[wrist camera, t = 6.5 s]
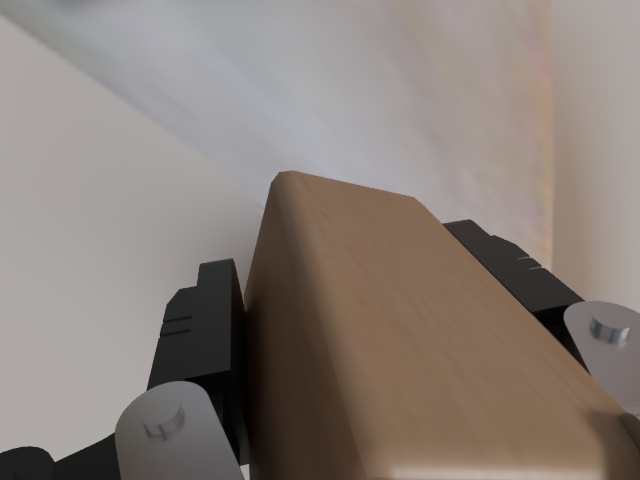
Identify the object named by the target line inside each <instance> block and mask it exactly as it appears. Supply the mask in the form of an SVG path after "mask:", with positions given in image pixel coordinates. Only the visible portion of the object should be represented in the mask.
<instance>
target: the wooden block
mask: <svg viewBox="0 0 640 480" xmlns="http://www.w3.org/2000/svg"><path fill="white" fill-rule="evenodd" d="M244 308H245V312H246V338H247V365H248V393H249V420H250V450H249V471H250V472H249V473H250V480H640V455H639V452H638V449H637V447H636V446H635V444H634V442H633V441H632V439H631V437H630V436H629V434H628V433H627V431H626V429H625V428H624V426H623V424H622V423H621V421H620V420H619V418H618V416H619V415H621V414H623V413H627V412H626V411H625V410H624V409H623V408H622V407H621V406H620V405H619V404H618V403H617V402H616V401H615V400H614V399H613V398H612V397H611V396H610V395H609V394H608V393H607V392H606V391H605V390H604V389H603V388H602V387H601V386H600V385H599V384H598V383H597V382H596V380H595V379H594V378H593V377H592V376H591V375H590V374H589V373H588V372H587V371H586V369H585V368H584V367H583V366H582V365H581V364H580V362H579V361H578V360H577V359H576V358H575V357H574V356H573V355H572V354H571V353H570V352H569V351H568V350H567V349H566V348H565V347H564V346H563V345H562V344H561V343H560V342H559V341H558V340H557V339H556V338H555V337H554V336H553V335H552V334H551V333H550V332H549V331H548V330H547V329H546V328H545V327H544V326H543V325H542V324H541V323H540V322H539V321H538V320H537V319H536V318H535V317H534V316H533V315H532V314H531V313H530V312H529V311H528V310H527V309H526V308H525V307H524V306H523V305H522V304H521V303H520V302H519V301H518V300H517V299H516V298H515V297H514V296H513V295H512V294H511V293H510V292H509V291H508V290H507V289H506V288H505V287H504V286H503V285H502V284H501V283H500V282H499V281H498V280H497V279H496V278H495V277H494V276H493V275H492V274H491V273H490V272H489V271H488V270H487V269H486V268H485V267H484V266H483V265H482V264H481V263H480V262H479V261H478V260H477V259H476V258H475V257H474V256H473V255H472V254H471V253H470V252H469V251H468V250H467V249H466V248H465V247H464V246H463V245H462V244H461V243H460V242H459V241H458V240H457V239H456V238H455V237H454V236H453V235H452V234H451V233H450V232H449V231H448V230H447V229H446V228H445V227H444V226H443V225H442V223H441V222H440V221H439V220H438V219H437V218H436V217H435V216H434V215H433V214H432V213H431V212H430V211H429V210H428V209H427V208H426V207H425V206H424V205H423V204H422V203H420V202H419V201H418V200H416V199H415V198H414V197H410V196H405V195H401V194H396V193H392V192H387V191H383V190H378V189H374V188H369V187H364V186H360V185H355V184H351V183H346V182H342V181H337V180H333V179H328V178H324V177H319V176H315V175H310V174H305V173H301V172H296V171H286V172H279V173H278V175H277V176H276V177H275V179H274V180H273V181H272V183H271V186H270V190H269V194H268V198H267V202H266V206H265V210H264V215H263V219H262V223H261V227H260V231H259V235H258V239H257V243H256V247H255V251H254V256H253V260H252V264H251V268H250V272H249V276H248V280H247V284H246V288H245V292H244Z"/></svg>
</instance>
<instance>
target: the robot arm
mask: <svg viewBox="0 0 640 480" xmlns="http://www.w3.org/2000/svg"><path fill="white" fill-rule="evenodd" d="M442 225H443V226H444V227H445V228H446V229H447V230H448V231H449V232H450V233H451V234H452V235H453V236H454V237H455V238H456V239H457V240H458V241H459V242H460V243H461V244H462V245H463V246H464V247H465V248H466V249H467V250H468V251H469V252H470V253H471V254H472V255H473V256H474V257H475V258H476V259H477V260H478V261H479V262H480V263H481V264H482V265H483V266H484V267H485V268H486V269H487V270H488V271H489V272H490V273H491V274H492V275H493V276H494V277H495V278H496V279H497V280H498V281H499V282H500V283H501V284H502V285H503V286H504V287H505V288H506V289H507V290H508V291H509V292H510V293H511V294H512V295H513V296H514V297H515V298H516V299H517V300H518V301H519V302H520V303H521V304H522V305H523V306H524V307H525V308H526V309H527V310H528V311H529V312H530V313H531V314H532V315H533V316H534V317H535V318H536V319H537V320H538V321H539V322H540V323H541V324H542V325H543V326H544V327H545V328H546V329H547V330H548V331H549V332H550V333H551V334H552V335H553V336H554V337H555V338H556V339H557V340H558V341H559V342H560V343H561V344H562V345H563V346H564V347H565V348H566V349H567V350H568V351H569V352H570V353H571V354H572V355H573V356H574V357H575V358H576V359H577V360H578V361H579V362H580V364H581V365H582V366H583V367H584V368H585V369H586V371H587V372H588V373H589V374H590V375H591V376H592V377H593V378H594V379H595V380H596V382H597V383H598V384H599V385H600V386H601V387H602V388H603V389H604V390H605V391H606V392H607V393H608V394H609V395H610V396H611V397H612V398H613V399H614V400H615V401H616V402H617V403H618V404H619V405H620V406H621V407H622V408H623V409H624V410H625V411H626V412H627V413H623V414H621V415H619V416H618V418H619V420H620V421H621V423H622V424H623V426H624V428H625V429H626V431H627V433H628V434H629V436H630V437H631V439H632V441H633V442H634V444H635V446H636V447H637V449H638V452H639V455H640V314H639V313H637V312H635V311H634V310H631V309H629V308H627V307H623V306H620V305H618V304H614V303H609V302H602V301H585V300H583V299H582V298H581V297H580V296H578V295H577V294H576V293H575V292H574V291H572V290H571V289H570V288H569V287H567V286H566V285H565V284H564V283H562V282H561V281H560V280H559V279H558V278H556V277H555V276H554V275H553V274H551V273H550V272H549V271H548V270H546V269H545V268H542V265H540V264H539V263H538V262H537V261H535V260H534V259H533V258H530V257H529V255H528V254H527V253H526V252H524V251H523V250H522V249H521V248H519V247H518V246H517V245H516V244H514V243H512V242H509V241H507V240H504V239H502V238H500V237H497V236H495V235H493V236H490V235H489V234H488V233H486V232H485V231H484V230H483V229H482V228H481V227H479V226H478V225H477V224H476V223H475V222H474V221H472V220H470V219H468V220H462V221H456V222H450V223H444V224H442ZM249 450H250V420H249V393H248V365H247V338H246V312H245V308H244V303H243V299H242V294H241V290H240V285H239V281H238V277H237V272H236V267H235V263H234V260H233V259H226V260H219V261H213V262H208V263H202V264H200V267H199V274H198V281H197V286H195V287H189V288H183V289H179V290H178V292H177V293H176V294H175V295H174V296H173V298H172V299H171V300H170V301H169V303H168V304H167V306H166V310H165V314H164V319H163V324H162V327H161V331H160V338H159V340H158V344H157V348H156V352H155V356H154V361H153V365H152V369H151V373H150V378H149V382H148V386H147V390H146V392H145V393H143V394H141V395H140V396H139V397H137V398H136V399H135V400H134V401H133V402H132V403H131V404H130V405H129V406H128V407H127V408H126V409H125V411H124V412H123V413H122V415H121V416H120V418H119V420H118V423H117V425H116V429H115V432H114V433H113V434H111V435H110V436H108V437H107V438H105V439H103V440H101V441H99V442H97V443H95V444H93V445H91V446H89V447H86V448H84V449H82V450H80V451H78V452H76V453H74V454H72V455H69V456H67V457H65V458H63V459H61V460H59V461H57V462H54V460H53V459H52V457H51V456H50V454H49V453H48V452H47V451H45V450H44V449H41V448H38V447H31V446H28V447H19V448H15V449H11V450H8V451H5V452H2V453H0V480H245V479H244V476H243V474H242V471H241V469H240V466H241V465H246V464H249Z"/></svg>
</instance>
